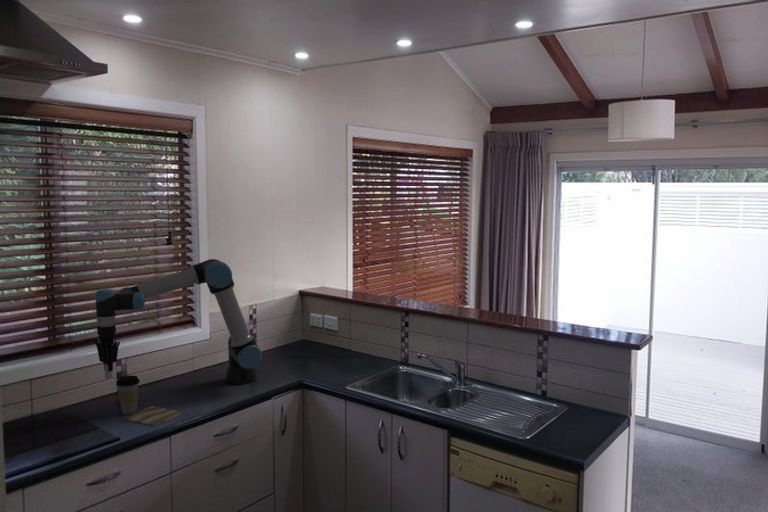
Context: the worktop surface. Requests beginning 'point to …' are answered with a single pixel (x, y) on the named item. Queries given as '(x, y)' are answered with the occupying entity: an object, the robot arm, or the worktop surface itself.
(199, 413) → the worktop surface
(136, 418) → the brown striped mat
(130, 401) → the coffee cup
